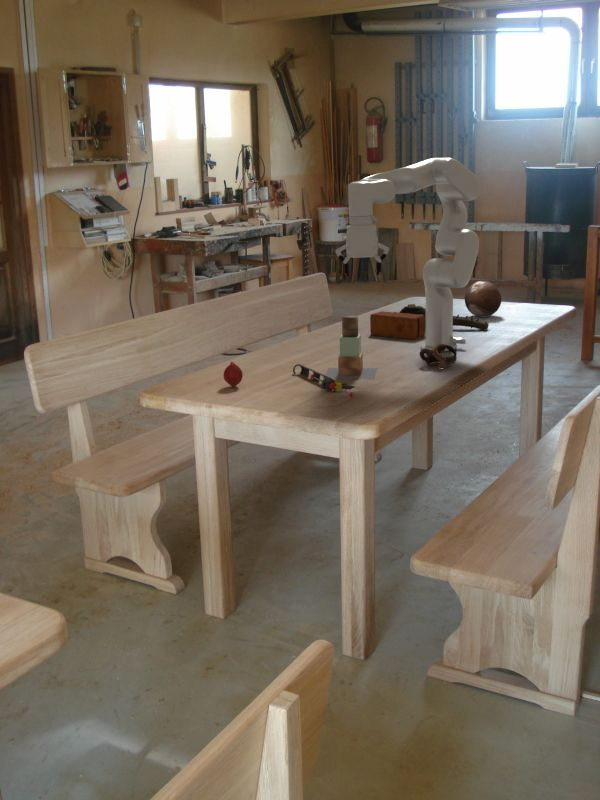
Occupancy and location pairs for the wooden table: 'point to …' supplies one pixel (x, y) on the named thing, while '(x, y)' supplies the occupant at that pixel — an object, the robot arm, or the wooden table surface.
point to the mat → (366, 374)
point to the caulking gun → (325, 380)
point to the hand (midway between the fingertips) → (363, 274)
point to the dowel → (350, 326)
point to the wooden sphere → (483, 298)
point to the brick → (397, 325)
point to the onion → (233, 374)
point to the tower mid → (350, 346)
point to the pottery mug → (438, 355)
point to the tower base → (350, 365)
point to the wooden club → (456, 319)
